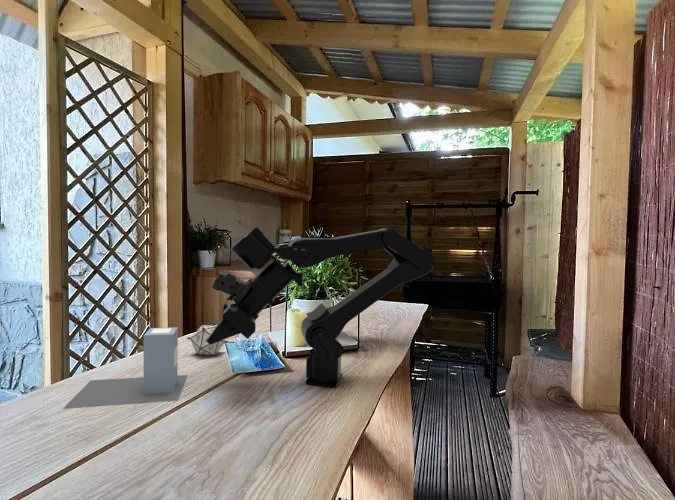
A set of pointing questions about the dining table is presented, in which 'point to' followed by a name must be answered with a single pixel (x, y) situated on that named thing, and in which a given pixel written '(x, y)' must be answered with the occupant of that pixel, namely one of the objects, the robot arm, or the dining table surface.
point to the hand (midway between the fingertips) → (208, 342)
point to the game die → (205, 341)
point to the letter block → (160, 360)
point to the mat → (121, 393)
